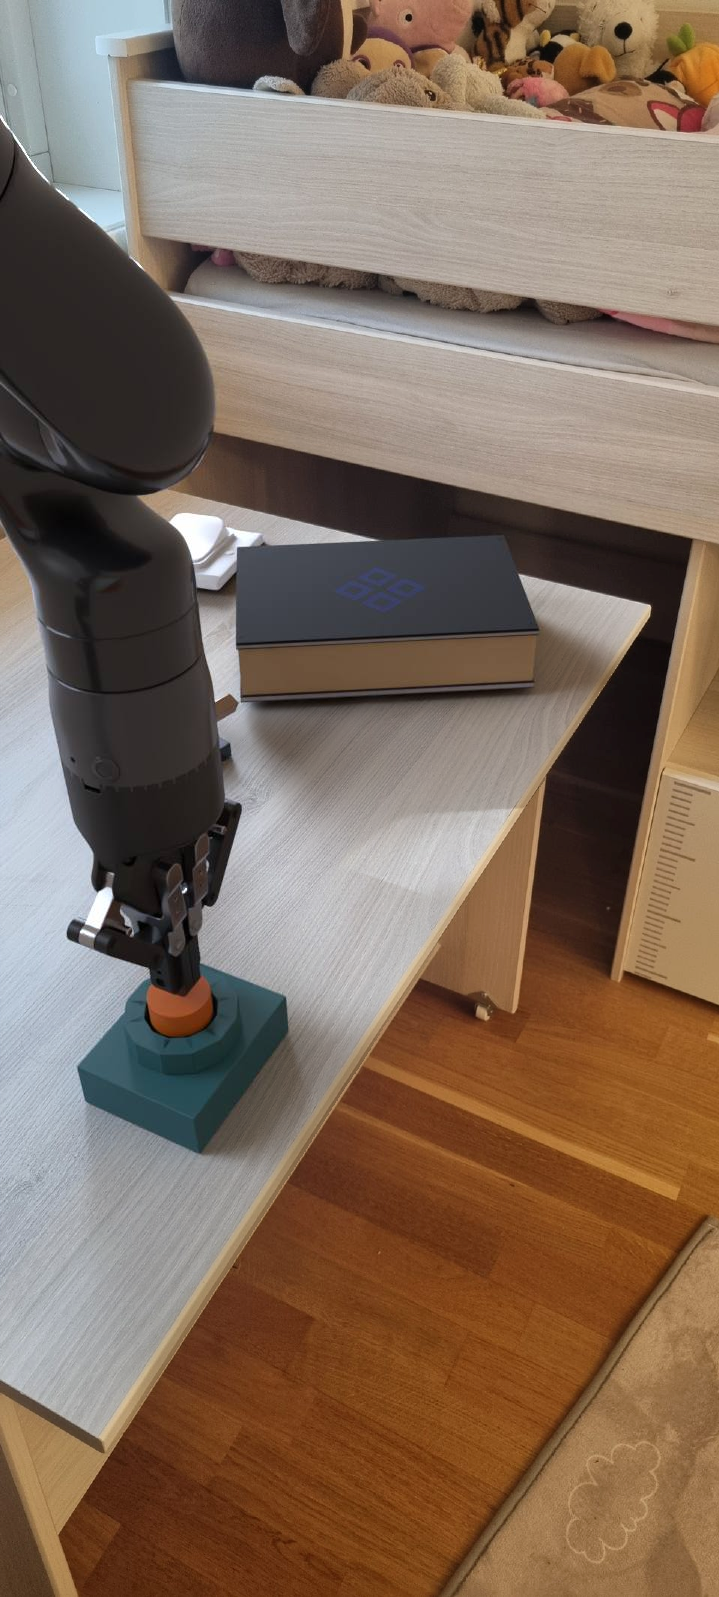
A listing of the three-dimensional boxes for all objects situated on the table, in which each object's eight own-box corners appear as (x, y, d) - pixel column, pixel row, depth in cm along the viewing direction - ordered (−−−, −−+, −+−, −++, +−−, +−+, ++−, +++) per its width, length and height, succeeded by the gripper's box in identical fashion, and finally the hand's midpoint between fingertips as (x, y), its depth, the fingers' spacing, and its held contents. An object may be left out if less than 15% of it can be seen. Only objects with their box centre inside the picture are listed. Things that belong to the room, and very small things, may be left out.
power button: (190, 1046, 67) (187, 1025, 66) (137, 1024, 68) (133, 1003, 67) (225, 1003, 69) (222, 982, 68) (173, 982, 71) (170, 962, 70)
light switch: (263, 509, 124) (216, 557, 114) (265, 546, 127) (218, 597, 117) (167, 497, 127) (113, 543, 117) (171, 534, 129) (117, 582, 119)
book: (241, 609, 115) (236, 546, 111) (499, 597, 116) (503, 534, 112) (241, 710, 101) (235, 642, 97) (533, 695, 103) (539, 628, 98)
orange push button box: (199, 1155, 67) (190, 1098, 64) (84, 1102, 70) (70, 1045, 67) (289, 1031, 74) (285, 975, 71) (181, 988, 77) (172, 932, 73)
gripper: (153, 648, 63) (187, 892, 73) (-18, 788, 53) (50, 1043, 64) (277, 683, 60) (294, 930, 71) (119, 837, 51) (166, 1094, 61)
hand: (178, 984), depth 67 cm, fingers closed
